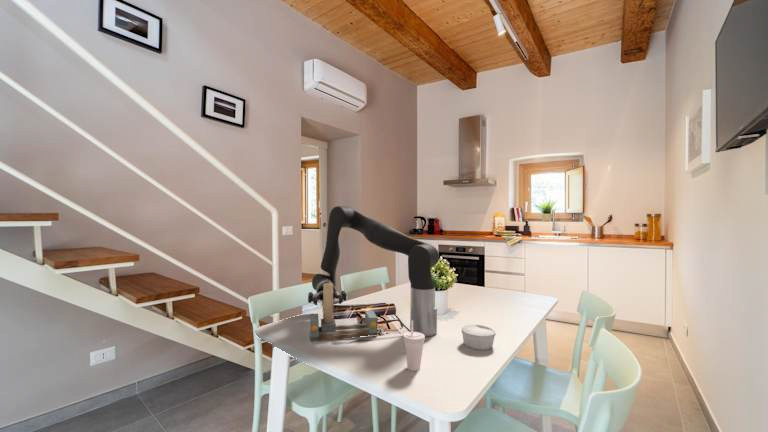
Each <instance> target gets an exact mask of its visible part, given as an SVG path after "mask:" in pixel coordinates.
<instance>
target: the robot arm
mask: <svg viewBox="0 0 768 432" xmlns="http://www.w3.org/2000/svg"><path fill="white" fill-rule="evenodd" d="M343 228H348V229H352V230H355V231H357V232H359V233H361V234H362V235H363V236H364V237H365V239H366V240H367V241H368V242H370V243H371V244H373V245H375V246H377V247H379V248H381V249H384V250H387V251H391V252H395V253H400V254H403V255H406V256H407V257H408V258H407V269H408V272H407V273H408V274H407V275H408V279H409V282H410V304H409V305H410V310H409V311H410V313H409V315H410V316H409V318H410V323H409V327H410V329H409V330H410V331H409V332H411V320H413V332H420V333H423V334H424V335H425V337H432V336H434V335H437V334H438V332H437V331H438V309H437V308H436V280H435V279H434V278H433V277H432V268H433V267H434V266H436V265H437V264H438V263H439V261H440V253H439V251H438V248H436V247H435V246H434V245H433V244H431V243H427V242H424V241H421V240H418V239H415V238H413V237H410V236H408V235H406V234H405V233H403V232H402V231H399V230H397V229H395V228H393V227H391V226H389V225H387V224H385V223H382V222H381V221H377V220H376V219H372V218H370V217H367V216H366V215H364V214H362V213H360V212H359V211H357V210H356V209H354V208H352V207H350V206H339V205H338V206H334V207H333V208H332V209H331V210H330V212H329V217H328V224H327V234H326V242H325V247H324V252H323V255H322V260H321V262H320V269H321V270H322V271H324V272H325V273H327V274H329V275H327V274H323V273H316V274H314V275H313V276H312V280H311V285H312V288H313V289H314V290H315V291H316V293H313V291H311V292H310V291H309V292H308V295H307V297H308V298H307V301H308V302H307V303H308V304H311V303H312V304H313V305H314V306H317V305H318V303H323V284H325V283H333V303H334V302H335V303H336V302H338V304H339V305H341V304H342V303H343V302H346V301H348V300H347V293H346V291H345V290H342V291H340V292H338V291H336V284H337V283H336V282H337V281H336V280H337V279H336V274H337V273H336V272H337V266H338V264H339V260H340V254H341V251H340V250H341V248H340V242H339V237H340V232H341V230H342V229H343Z"/></svg>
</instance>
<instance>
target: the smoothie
mask: <svg viewBox="0 0 768 432" xmlns="http://www.w3.org/2000/svg"><path fill="white" fill-rule="evenodd" d="M402 337H403V338H402V340H404V350H405V356H406V358H405V360H406V367H407V370H409V371H410V372H411V371H412V372H417V371H419V370H421V365H422V357H423V349H424V341H425V340H426V338H425V337H426V336H425V335H424V334H423V333H420V332H413V320H411V332H410V331H408V332H404V333H403V335H402Z"/></svg>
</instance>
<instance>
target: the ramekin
mask: <svg viewBox="0 0 768 432" xmlns="http://www.w3.org/2000/svg"><path fill="white" fill-rule="evenodd" d="M461 333H462V339H463V344H464V345H465V346H466V347H468V348H469V349H473V350H477V351H478V350H479V351H487V350H490V349H491V348H492V347H493V345H494V341H495V336H496V330H495V329H493V328H491V327H489V326H486V325H480V324H468V325H467V324H466V325H464V326H463V327H461Z"/></svg>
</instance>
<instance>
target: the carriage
mask: <svg viewBox="0 0 768 432" xmlns="http://www.w3.org/2000/svg"><path fill="white" fill-rule="evenodd" d="M322 304H323V306H322V307H323V308H322V309H323V310H322V314H323V316H322V318H320V327H321V331H322V332H327V331H336V326H337V322H336V319H335V318H334V301H333V283H325V284H323V302H322Z"/></svg>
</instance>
